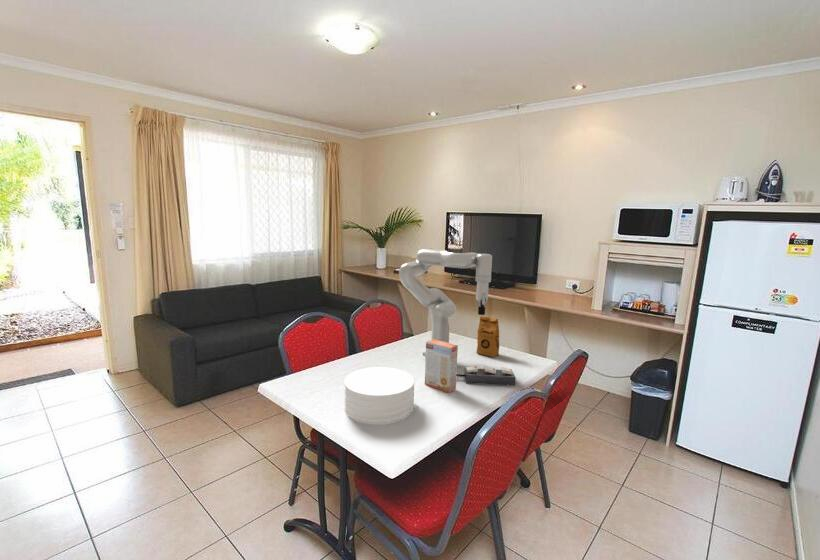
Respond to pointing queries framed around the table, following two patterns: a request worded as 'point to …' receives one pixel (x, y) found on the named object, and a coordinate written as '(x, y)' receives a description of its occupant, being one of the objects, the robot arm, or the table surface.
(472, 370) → the block
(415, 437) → the table surface
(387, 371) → the plate stack
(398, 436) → the table surface
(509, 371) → the rocker right
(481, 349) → the coffee package
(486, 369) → the plate
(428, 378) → the cracker box
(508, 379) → the power strip
